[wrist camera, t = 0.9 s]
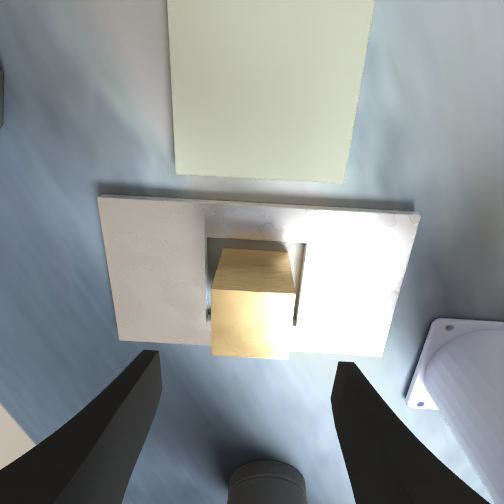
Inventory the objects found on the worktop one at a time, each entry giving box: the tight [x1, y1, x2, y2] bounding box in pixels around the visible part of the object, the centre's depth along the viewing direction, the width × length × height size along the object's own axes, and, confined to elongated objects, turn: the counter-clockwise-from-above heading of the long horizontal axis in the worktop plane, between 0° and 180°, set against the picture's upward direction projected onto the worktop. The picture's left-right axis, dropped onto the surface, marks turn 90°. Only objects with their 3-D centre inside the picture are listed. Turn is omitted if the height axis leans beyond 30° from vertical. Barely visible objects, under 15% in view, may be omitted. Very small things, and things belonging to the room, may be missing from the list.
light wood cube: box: [211, 248, 296, 360], centre depth 17 cm, size 4×4×5 cm
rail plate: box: [97, 194, 421, 356], centre depth 19 cm, size 18×10×1 cm, turn 87°
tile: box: [167, 0, 375, 184], centre depth 15 cm, size 9×9×1 cm
